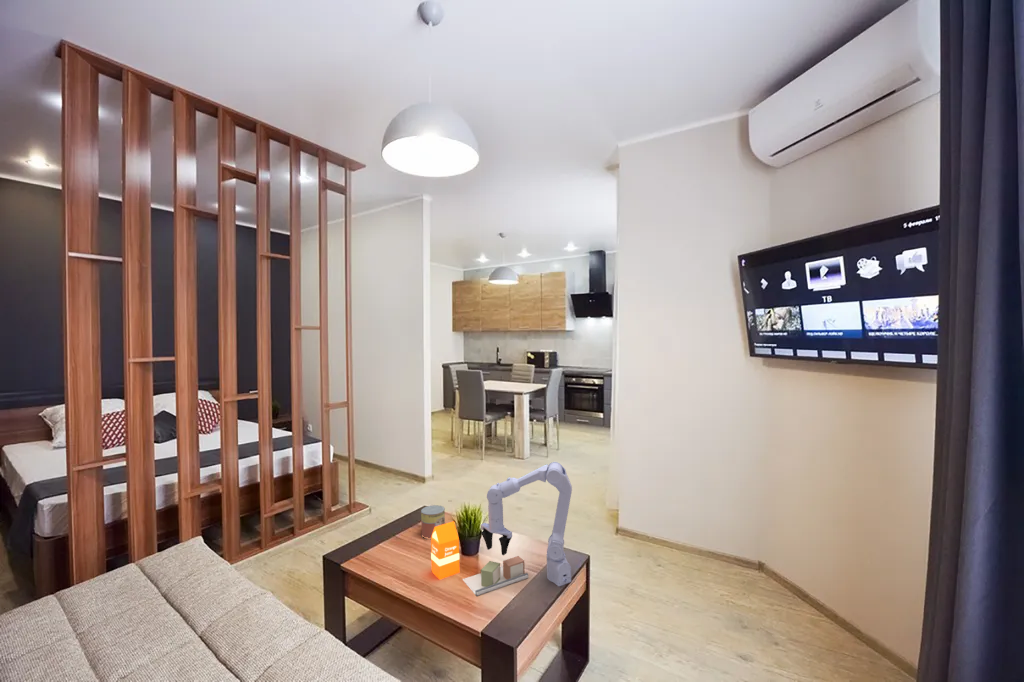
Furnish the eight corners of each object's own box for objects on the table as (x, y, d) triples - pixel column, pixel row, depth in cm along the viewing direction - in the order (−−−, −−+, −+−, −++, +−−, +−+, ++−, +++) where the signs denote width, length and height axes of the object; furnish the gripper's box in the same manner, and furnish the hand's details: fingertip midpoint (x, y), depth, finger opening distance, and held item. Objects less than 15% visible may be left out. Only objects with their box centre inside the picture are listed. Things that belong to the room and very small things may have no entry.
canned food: (433, 541, 199) (433, 516, 199) (416, 536, 205) (416, 511, 205) (450, 532, 208) (449, 507, 208) (433, 527, 214) (432, 503, 214)
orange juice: (431, 573, 171) (430, 523, 171) (451, 566, 176) (449, 518, 176) (439, 582, 165) (438, 530, 165) (460, 574, 170) (458, 524, 170)
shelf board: (528, 580, 164) (528, 574, 164) (476, 598, 153) (476, 591, 153) (511, 565, 176) (511, 559, 176) (462, 581, 165) (462, 575, 165)
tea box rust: (524, 576, 166) (524, 560, 166) (509, 581, 162) (508, 566, 162) (518, 571, 170) (518, 555, 170) (503, 576, 166) (503, 560, 166)
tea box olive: (500, 578, 164) (500, 563, 164) (492, 588, 158) (492, 572, 158) (490, 576, 166) (489, 560, 166) (481, 585, 160) (481, 569, 160)
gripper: (516, 517, 167) (517, 552, 167) (488, 509, 176) (489, 542, 176) (505, 523, 161) (506, 559, 161) (477, 515, 170) (478, 549, 170)
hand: (496, 551), depth 168 cm, fingers open, 7 cm apart
